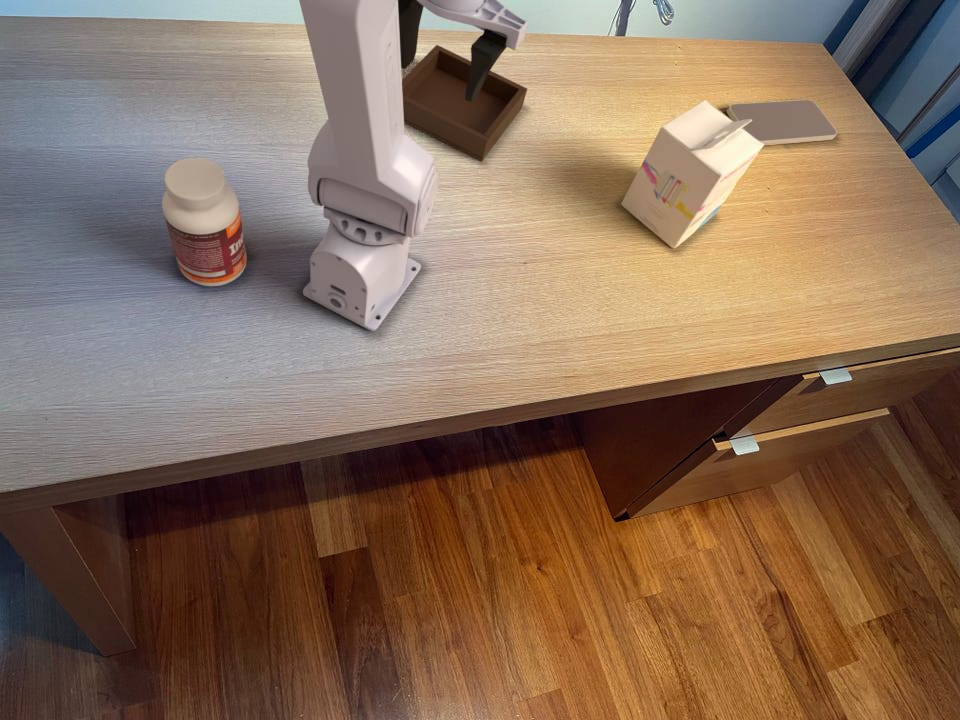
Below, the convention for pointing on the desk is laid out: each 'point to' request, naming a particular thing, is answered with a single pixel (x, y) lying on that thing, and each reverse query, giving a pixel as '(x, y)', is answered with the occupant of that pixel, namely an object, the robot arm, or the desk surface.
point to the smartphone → (783, 121)
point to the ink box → (690, 172)
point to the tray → (459, 103)
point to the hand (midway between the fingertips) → (439, 79)
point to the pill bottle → (204, 222)
